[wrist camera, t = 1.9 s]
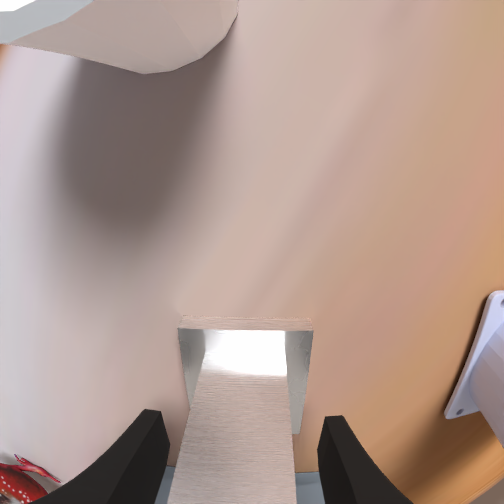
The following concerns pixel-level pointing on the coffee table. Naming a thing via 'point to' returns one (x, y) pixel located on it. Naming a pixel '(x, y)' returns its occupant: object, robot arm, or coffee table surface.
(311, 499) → the slate well
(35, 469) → the decorative bird figurine
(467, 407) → the robot arm
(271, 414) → the grey t-shaped bar
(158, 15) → the off-white tapered cylinder
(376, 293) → the coffee table surface
